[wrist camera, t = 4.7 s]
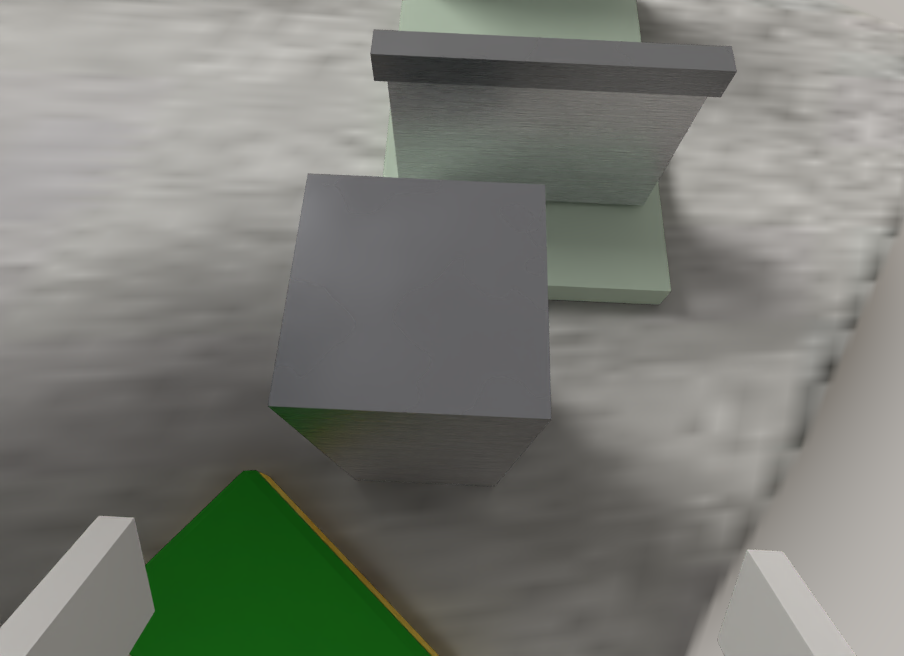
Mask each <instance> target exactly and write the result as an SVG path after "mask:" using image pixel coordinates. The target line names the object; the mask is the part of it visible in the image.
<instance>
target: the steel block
mask: <svg viewBox="0 0 904 656" xmlns="http://www.w3.org/2000/svg"><path fill="white" fill-rule="evenodd" d="M268 407H270V408H271V409H272V410H273V411H274V412H276V413H277V414H278V415H279V416H280V417H281V418H283V419H284V420H285V421H286V422H287V423H289V424H290V425H291V426H292V427H293V428H295V429H296V430H297V431H298V432H299V433H300V434H302V435H303V436H304V437H305V438H306V439H308V440H309V441H310V442H311V443H312V444H314V445H315V446H316V447H317V448H318V449H319V450H321V451H322V452H323V453H324V454H325V455H327V456H328V457H329V458H330V459H331V460H333V461H334V462H335V463H336V464H337V465H338V466H340V467H341V468H342V469H343V470H344V471H346V472H347V473H348V474H349V475H350V476H352V477H353V478H354V479H355V480H369V481H391V482H413V483H435V484H456V485H478V486H495V485H496V484H497V483H498V482H499V481H500V479H501V478H502V477H503V476H504V475H505V473H506V472H507V471H508V470H509V469H510V468H511V466H512V465H513V464H514V463H515V462H516V460H517V459H518V458H519V457H520V456H521V454H522V453H523V452H524V451H525V450H526V449H527V447H528V446H529V445H530V444H531V443H532V441H533V440H534V439H535V438H536V437H537V435H538V434H539V433H540V432H541V431H542V430H543V428H544V427H545V426H546V425H547V424H548V422H549V421H550V420H551V389H550V351H549V313H548V275H547V237H546V200H545V185H541V184H520V183H499V182H478V181H456V180H435V179H414V178H393V177H372V176H351V175H330V174H308V176H307V181H306V187H305V193H304V199H303V205H302V211H301V216H300V222H299V228H298V234H297V240H296V245H295V251H294V257H293V263H292V269H291V275H290V280H289V286H288V292H287V298H286V304H285V309H284V315H283V321H282V327H281V333H280V338H279V344H278V350H277V356H276V362H275V368H274V373H273V379H272V385H271V391H270V397H269V402H268Z"/></svg>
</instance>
